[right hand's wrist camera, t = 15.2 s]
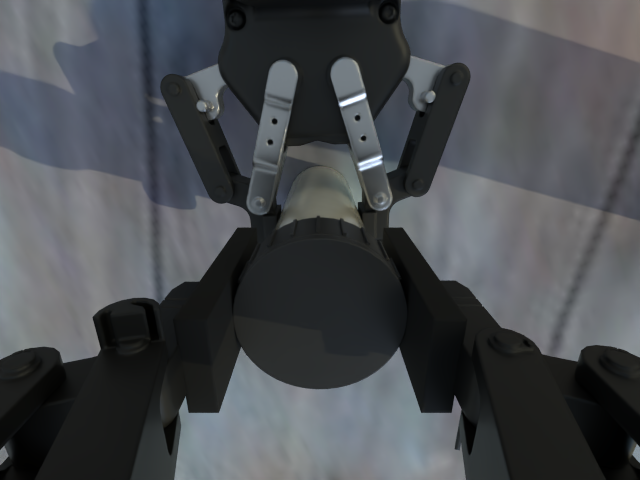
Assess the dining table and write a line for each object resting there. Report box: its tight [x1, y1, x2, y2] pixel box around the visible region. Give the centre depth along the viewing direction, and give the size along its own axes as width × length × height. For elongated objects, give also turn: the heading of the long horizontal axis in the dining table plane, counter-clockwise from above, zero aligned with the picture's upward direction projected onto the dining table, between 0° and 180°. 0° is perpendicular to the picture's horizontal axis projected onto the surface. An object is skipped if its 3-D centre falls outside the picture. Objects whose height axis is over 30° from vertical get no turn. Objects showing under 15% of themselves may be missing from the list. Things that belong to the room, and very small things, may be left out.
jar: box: [276, 166, 364, 229], centre depth 18 cm, size 4×4×15 cm
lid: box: [233, 216, 408, 389], centre depth 11 cm, size 5×5×2 cm
